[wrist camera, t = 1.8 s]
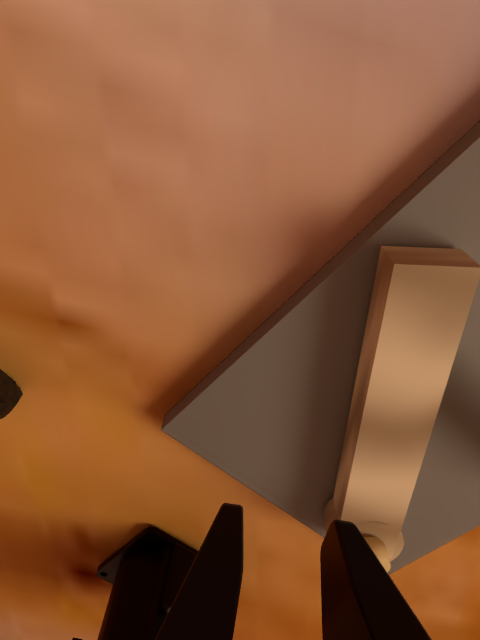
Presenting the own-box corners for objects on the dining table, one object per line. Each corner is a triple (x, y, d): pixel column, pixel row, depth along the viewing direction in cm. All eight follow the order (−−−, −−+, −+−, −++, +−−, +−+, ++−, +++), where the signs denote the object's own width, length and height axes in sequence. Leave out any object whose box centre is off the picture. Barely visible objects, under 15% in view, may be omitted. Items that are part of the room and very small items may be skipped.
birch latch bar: (386, 537, 27) (395, 570, 25) (319, 534, 27) (323, 566, 25) (471, 249, 18) (494, 268, 16) (371, 245, 18) (383, 263, 16)
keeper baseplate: (379, 559, 30) (400, 642, 25) (165, 414, 25) (145, 488, 20) (738, 357, 22) (861, 429, 17) (531, 72, 16) (632, 71, 12)
